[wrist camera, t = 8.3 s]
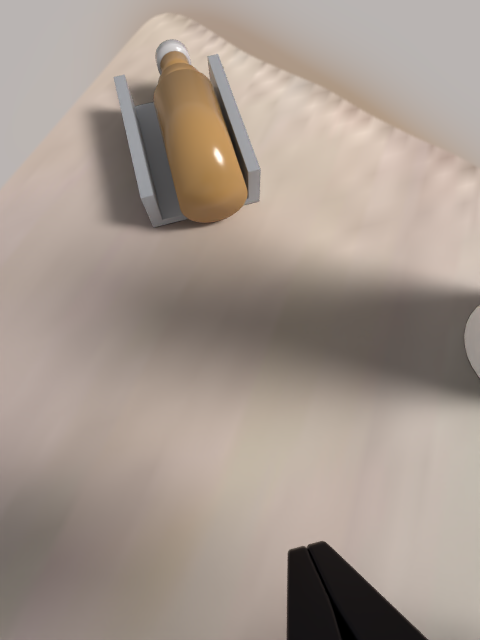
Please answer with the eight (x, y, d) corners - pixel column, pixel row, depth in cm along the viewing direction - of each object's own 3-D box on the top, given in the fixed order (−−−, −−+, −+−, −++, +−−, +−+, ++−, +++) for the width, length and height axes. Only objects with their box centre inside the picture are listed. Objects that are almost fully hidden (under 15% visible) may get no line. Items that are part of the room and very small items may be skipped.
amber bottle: (255, 205, 25) (209, 68, 30) (234, 163, 21) (185, 12, 26) (197, 230, 26) (161, 94, 31) (166, 195, 22) (130, 44, 26)
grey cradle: (259, 201, 27) (260, 169, 24) (153, 227, 26) (140, 198, 23) (221, 93, 30) (218, 54, 27) (127, 114, 30) (113, 77, 27)
